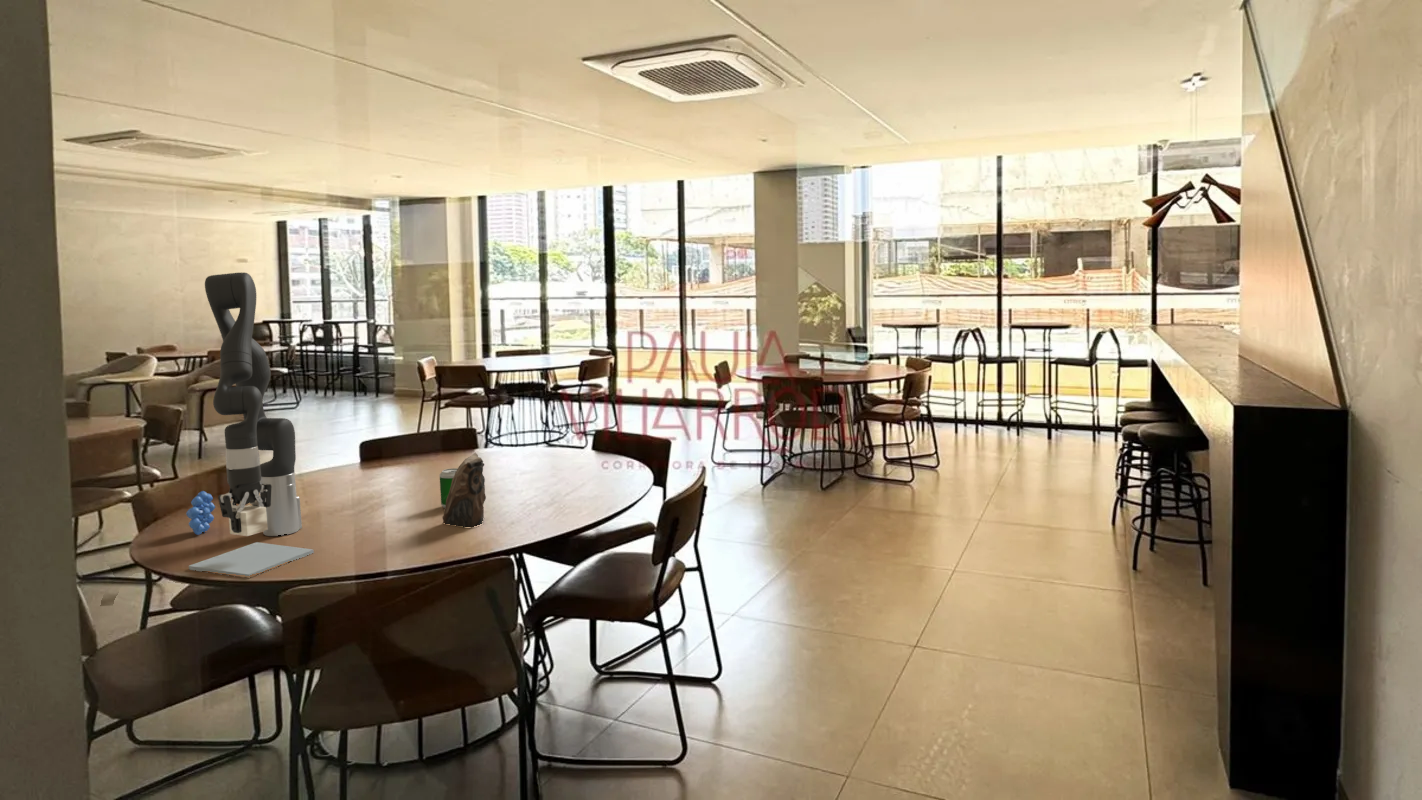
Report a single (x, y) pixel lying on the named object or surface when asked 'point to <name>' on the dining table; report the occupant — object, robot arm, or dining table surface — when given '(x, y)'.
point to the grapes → (201, 512)
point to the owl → (466, 494)
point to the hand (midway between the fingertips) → (248, 528)
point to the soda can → (446, 483)
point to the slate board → (251, 559)
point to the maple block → (252, 520)
